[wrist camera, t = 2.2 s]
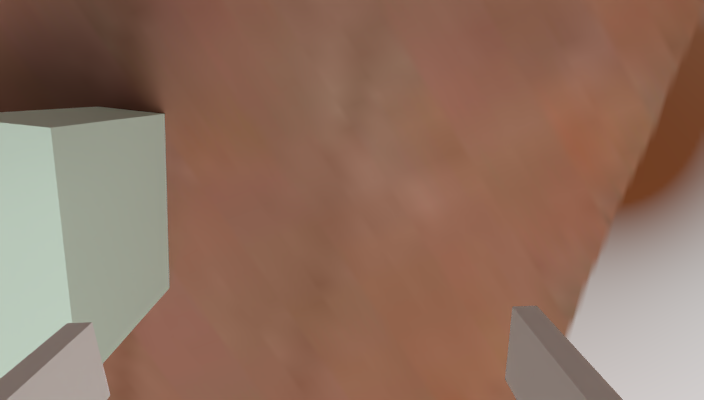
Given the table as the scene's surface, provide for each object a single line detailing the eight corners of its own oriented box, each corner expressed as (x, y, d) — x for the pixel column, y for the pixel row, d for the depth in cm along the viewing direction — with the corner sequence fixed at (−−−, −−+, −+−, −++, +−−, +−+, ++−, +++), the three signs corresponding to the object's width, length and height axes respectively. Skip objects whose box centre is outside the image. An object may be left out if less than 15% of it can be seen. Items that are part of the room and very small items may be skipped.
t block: (164, 113, 34) (50, 127, 21) (169, 288, 39) (79, 389, 26) (-18, 94, 34) (-258, 95, 20) (10, 274, 38) (-168, 372, 25)
